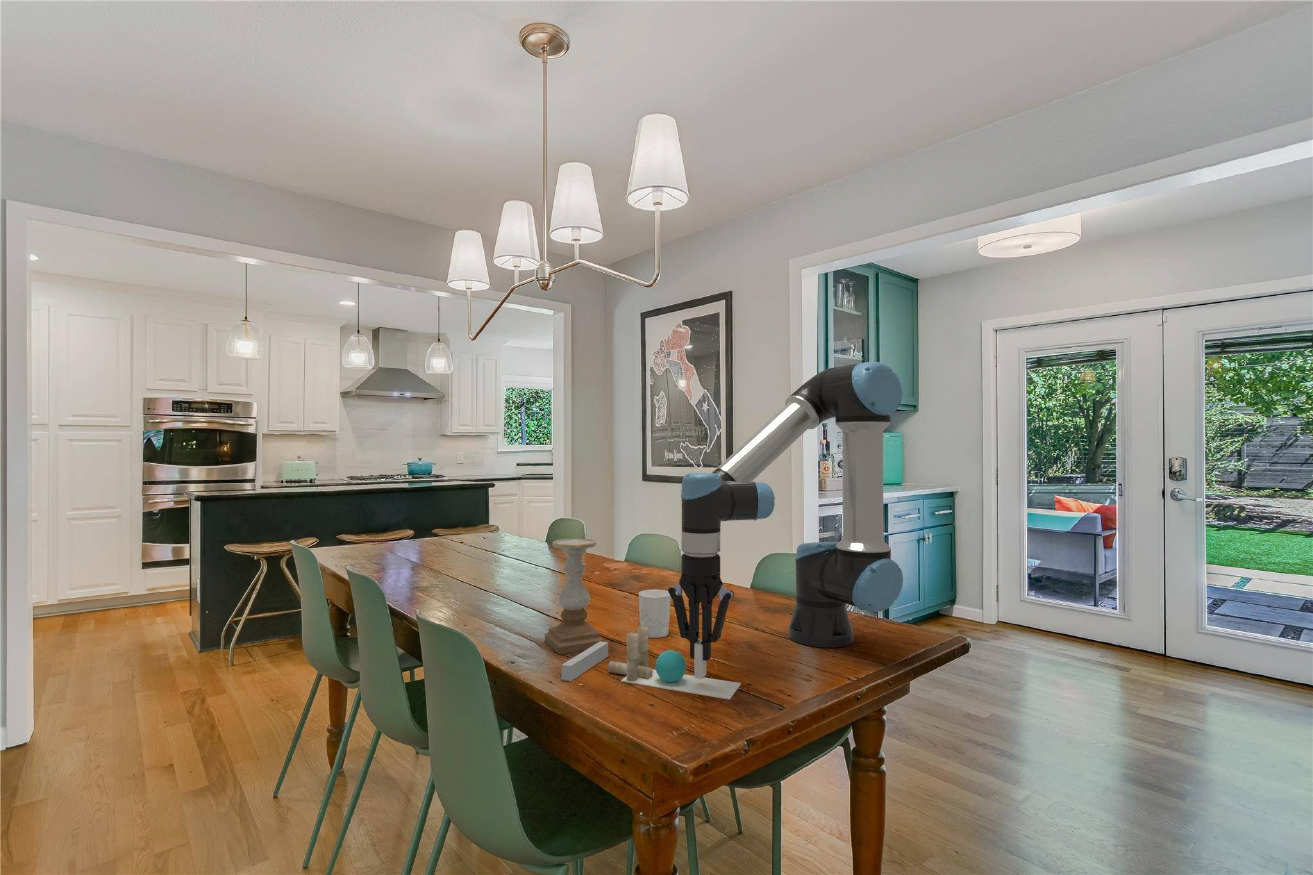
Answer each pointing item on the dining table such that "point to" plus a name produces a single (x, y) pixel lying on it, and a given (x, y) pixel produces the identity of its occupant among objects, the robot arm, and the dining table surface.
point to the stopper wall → (584, 661)
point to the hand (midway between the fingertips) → (700, 676)
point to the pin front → (622, 669)
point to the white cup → (655, 612)
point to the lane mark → (692, 685)
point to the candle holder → (573, 603)
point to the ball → (670, 666)
